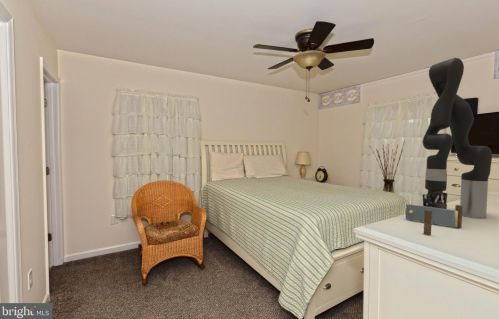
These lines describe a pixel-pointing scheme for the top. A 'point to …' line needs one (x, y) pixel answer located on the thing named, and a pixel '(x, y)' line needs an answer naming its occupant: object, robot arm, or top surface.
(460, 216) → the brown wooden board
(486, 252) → the top surface
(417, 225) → the top surface
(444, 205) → the block
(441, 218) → the door
